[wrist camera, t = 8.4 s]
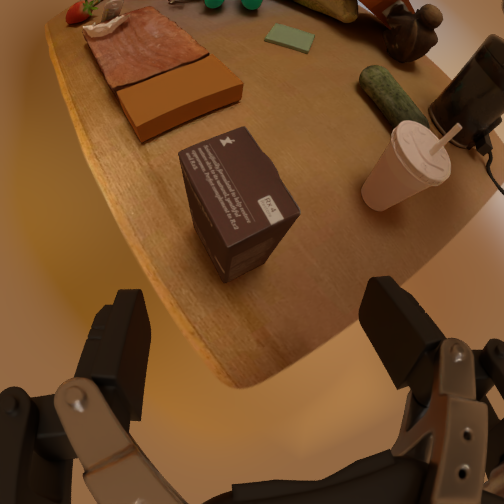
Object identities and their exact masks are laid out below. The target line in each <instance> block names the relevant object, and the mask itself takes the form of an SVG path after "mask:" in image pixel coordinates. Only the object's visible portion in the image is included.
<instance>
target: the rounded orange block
mask: <svg viewBox="0 0 504 504" xmlns="http://www.w3.org/2000/svg"><path fill="white" fill-rule="evenodd" d="M359 1H360V2H361V3H362V4H363V5H365V6H366V7H367V8H368V9H369V10H370V11H371V12H372V13H373V14H374V15H375V16H376V17H377V18H378V19H380V20H381V21H382V22H383V23H384V24H385V25H386V26H387V27H388V28H389V29H391V28H390V26H389V25H388V23H387V22H386V18H387V16H388V14H389V12H390V9H391V8H392V7H393V6H394V5H395V4H403V5H404V10H406V11H411V12H412V14H414V13H415V12H414V9H413V8H412V6H411V4H410V2H409V0H359Z"/></svg>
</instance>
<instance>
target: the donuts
mask: <svg viewBox="0 0 504 504" xmlns="http://www.w3.org/2000/svg"><path fill="white" fill-rule="evenodd" d="M223 2H224V0H205V5H206V6H207V7H209V8H217V7H219V6H220V5H221V4H222V3H223ZM241 2H242V4H243V5H244V7H246V8H247V9H250V10H255V9H257V8H259V7H260V5H261V3H262V0H241Z"/></svg>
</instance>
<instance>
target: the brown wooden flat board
mask: <svg viewBox="0 0 504 504" xmlns="http://www.w3.org/2000/svg"><path fill="white" fill-rule="evenodd" d="M129 14H130V18H129V17H128V19H127V20H126V21H125V22H123V23H122V24H121V25H119V26H118V27H117V28H116V29H115V30H113V32H112V33H109V34H107V35H104V36H102V37H101V36H100V37H92V38H91V37H90V36H89V35H88V34H87V32H86V31H85V30H84V29H83V30H82V33H83V35H84V38H85V40H86V41H87V42H88V45H89V47H90V48H91V50H92V53H93V54H94V56H95V58H96V61H97V63H98V65H99V67H100V69H101V70H102V72H103V74H104V76H105V78H106V81H107V83H108V84H109V86H110V88H111V89H112V91H113V92H114V94H115V96H116V97H117V99H118V101H119V103H120V104H121V106H122V108H123V111H124V113H125V115H126V116H127V118H128V120H129V122H130V124H131V125H132V127H133V129H134V131H135V132H136V134H137V136H138V138H139V140H140V141H141V143H142V142H144V141H146V140H148V139H150V138H152V137H154V136H156V135H158V134H160V133H162V132H164V131H166V130H168V129H170V128H172V127H175V126H177V125H179V124H181V123H183V122H186V121H188V120H190V119H192V118H195V117H197V116H199V115H202V114H204V113H207V112H209V111H212V110H214V109H217V108H219V107H222V106H224V105H227V104H230V103H233V102H235V101H238V100H241V97H242V91H243V84H244V83H243V82H242V81H241V80H240V79H239V78H238V77H237V76H236V75H235V74H234V73H233V72H231V71H230V70H229V69H228V68H227V67H226V66H225V65H224V64H223V63H222V62H221V61H220V60H219V59H217V58H216V57H215V56H214V55H213V54H211V55H209V52H208V51H207V50H206V48H204V47H201V46H200V45H199V44H198V43H197V41H196V40H194V39H193V38H192V37H191V36H190V35H189V34H188V33H186V31H185V30H183V29H182V28H179V26H178V25H177V24H176V22H173V21H170V20H169V18H167V17H165V16H163V15H161V14H160V13H159V11H158V10H156V9H155V8H154V7H151V6H148V7H144V8H141V9H138V10H135V11H131V12H128V13H125V14H122V15H124V16H127V15H129ZM122 15H120V16H122ZM120 16H118V17H120ZM115 18H116V17H114V18H112V19H115ZM112 19H109V20H106V21H104V22H101V23H98V24H103V23H104V24H106V23H108V22H110V21H111V20H112ZM98 24H96V25H98ZM94 26H95V25H94Z"/></svg>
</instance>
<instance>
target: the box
mask: <svg viewBox="0 0 504 504" xmlns="http://www.w3.org/2000/svg"><path fill="white" fill-rule="evenodd" d="M178 155H179V159H180V164H181V168H182V174H183V178H184V183H185V188H186V193H187V197H188V201H189V207H190V212H191V215H192V220H193V224H194V228H195V230H196V232H197V234H198V235H199V237H200V239H201V241H202V243H203V244H204V246H205V248H206V250H207V252H208V254H209V256H210V257H211V259H212V261H213V263H214V265H215V267H216V269H217V271H218V273H219V275H220V277H221V279H222V281H223V283H227V282H229V281H231V280H233V279H235V278H237V277H239V276H241V275H242V274H244V273H246V272H248V271H250V270H252V269H254V268H256V267H258V266H260V265H262V264H264V263H265V262H266V260H267V259H268V257H269V256H270V254H271V253H272V252H273V250H274V249H275V248H276V246H277V245H278V243H279V242H280V241H281V239H282V238H283V237H284V235H285V234H286V233H287V231H288V230H289V228H290V227H291V226H292V225H293V223H294V222H295V220H296V219H297V218H298V217H299V215H300V214H301V212H300V208H299V207H298V205H297V203H296V202H295V201H294V199H293V197H292V196H291V194H290V193H289V191H288V190H287V188H286V187H285V185H284V184H283V182H282V181H281V179H280V177H279V174H278V171H277V169H276V167H275V165H274V164H273V162H272V161H271V160H270V158H269V157H268V156H267V155H266V154H265V153H263V152H262V150H261V149H260V147H259V146H258V144H257V143H256V141H255V140H254V138H253V137H252V135H251V134H250V133H249V131H248V129H247V128H246V127H245V126H244V127H240V128H237V129H235V130H232V131H229V132H227V133H224V134H221V135H219V136H216V137H213V138H211V139H208V140H205V141H203V142H200V143H198V144H195V145H193V146H191V147H188V148H186V149H184V150H182V151H180V152H179V153H178Z"/></svg>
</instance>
